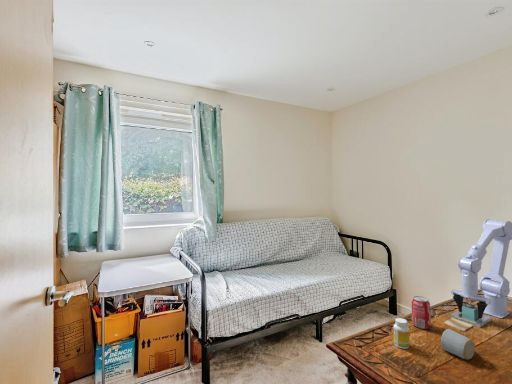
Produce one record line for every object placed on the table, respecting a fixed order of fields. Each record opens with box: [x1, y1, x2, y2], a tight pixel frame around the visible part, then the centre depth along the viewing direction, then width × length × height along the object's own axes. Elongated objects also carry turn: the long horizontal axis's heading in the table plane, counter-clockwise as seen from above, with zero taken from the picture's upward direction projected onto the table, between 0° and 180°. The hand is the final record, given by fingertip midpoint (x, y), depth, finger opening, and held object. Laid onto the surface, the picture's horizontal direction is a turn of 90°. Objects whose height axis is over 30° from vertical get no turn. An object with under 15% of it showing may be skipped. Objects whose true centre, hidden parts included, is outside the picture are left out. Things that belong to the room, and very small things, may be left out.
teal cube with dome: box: [462, 303, 479, 321], centre depth 124 cm, size 5×5×6 cm
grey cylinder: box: [440, 328, 476, 360], centre depth 99 cm, size 11×8×8 cm
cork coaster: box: [442, 317, 474, 332], centre depth 120 cm, size 8×8×1 cm
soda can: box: [411, 295, 432, 330], centre depth 119 cm, size 7×7×12 cm
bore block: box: [450, 310, 492, 328], centre depth 124 cm, size 11×11×2 cm
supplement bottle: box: [392, 317, 410, 350], centre depth 105 cm, size 5×5×10 cm
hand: (470, 314), depth 124 cm, fingers open, 7 cm apart
